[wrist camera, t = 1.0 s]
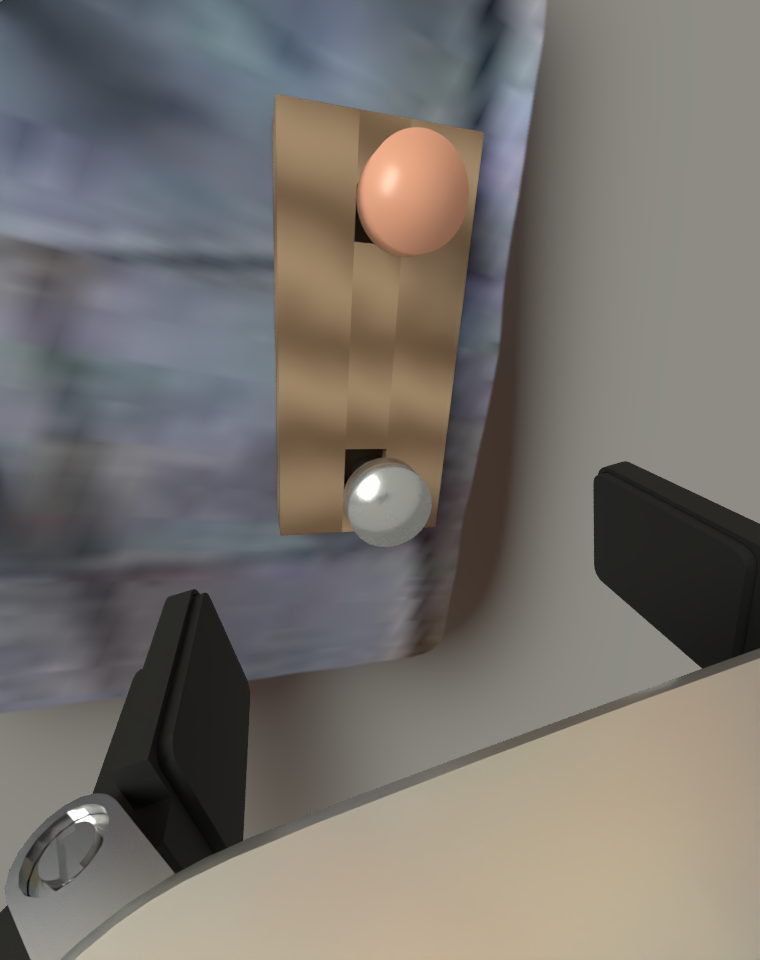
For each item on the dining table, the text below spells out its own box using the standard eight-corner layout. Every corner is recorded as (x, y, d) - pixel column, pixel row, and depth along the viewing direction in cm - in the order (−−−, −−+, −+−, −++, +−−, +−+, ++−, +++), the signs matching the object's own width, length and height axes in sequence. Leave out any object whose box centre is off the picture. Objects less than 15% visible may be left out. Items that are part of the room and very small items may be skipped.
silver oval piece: (394, 497, 35) (427, 544, 28) (328, 500, 33) (347, 549, 27) (400, 434, 33) (436, 467, 26) (331, 434, 32) (351, 469, 25)
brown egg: (415, 266, 29) (461, 258, 23) (336, 259, 28) (362, 248, 21) (423, 174, 27) (475, 137, 21) (339, 162, 26) (368, 117, 20)
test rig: (415, 501, 41) (435, 526, 36) (277, 506, 38) (280, 535, 33) (451, 155, 32) (483, 132, 27) (272, 125, 28) (276, 93, 24)
